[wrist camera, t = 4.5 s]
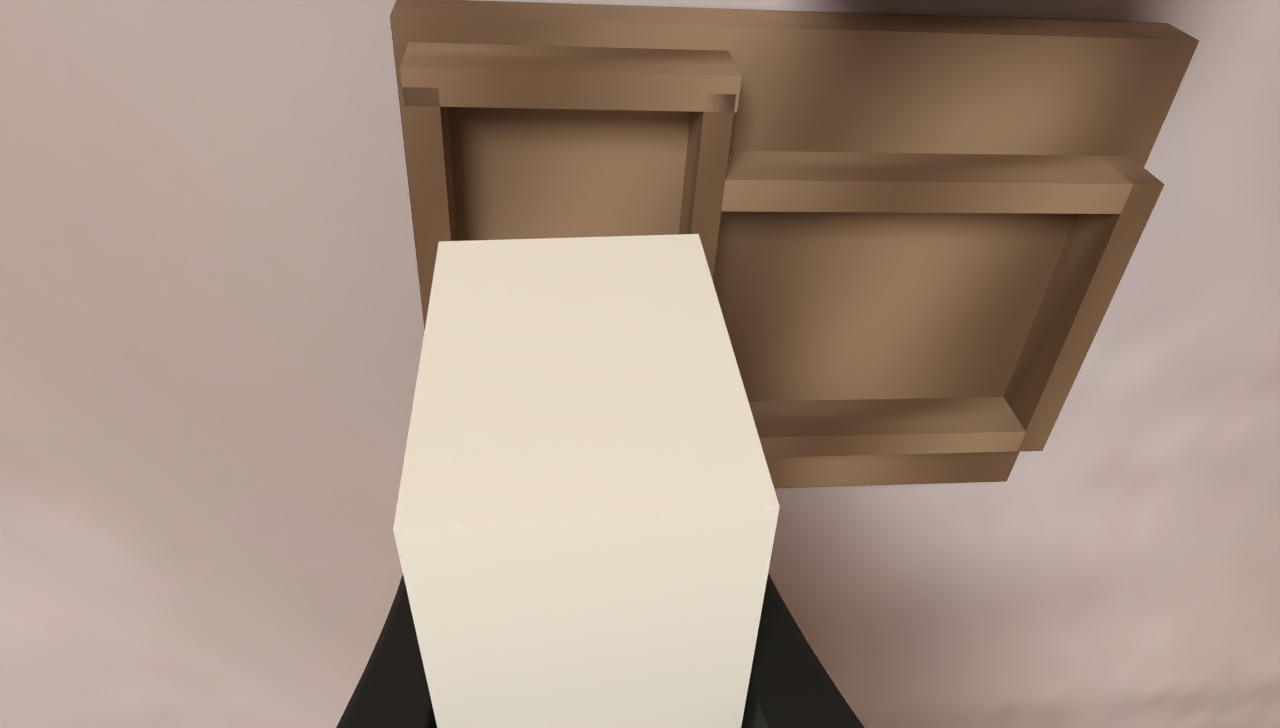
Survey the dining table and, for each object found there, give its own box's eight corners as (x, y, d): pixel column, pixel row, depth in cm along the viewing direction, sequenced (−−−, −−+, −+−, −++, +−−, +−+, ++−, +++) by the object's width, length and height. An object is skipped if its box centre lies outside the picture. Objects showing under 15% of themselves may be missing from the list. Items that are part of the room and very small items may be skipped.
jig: (1167, 23, 17) (1242, 64, 15) (990, 453, 23) (1027, 516, 21) (397, -3, 15) (380, 40, 13) (446, 468, 22) (439, 536, 20)
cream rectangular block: (699, 234, 11) (779, 507, 7) (670, 621, 16) (710, 898, 12) (438, 241, 11) (393, 528, 7) (491, 634, 16) (480, 921, 12)
